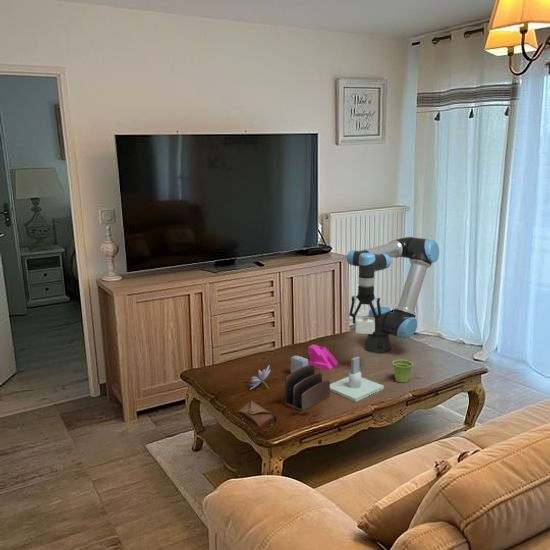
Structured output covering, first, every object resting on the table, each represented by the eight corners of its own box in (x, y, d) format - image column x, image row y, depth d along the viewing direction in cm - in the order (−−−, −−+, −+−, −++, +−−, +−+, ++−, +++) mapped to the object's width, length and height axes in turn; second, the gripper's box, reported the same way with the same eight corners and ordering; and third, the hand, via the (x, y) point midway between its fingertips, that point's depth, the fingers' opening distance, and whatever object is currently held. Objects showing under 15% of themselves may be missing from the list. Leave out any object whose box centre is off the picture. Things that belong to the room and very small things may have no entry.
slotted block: (357, 327, 281) (357, 315, 279) (373, 328, 279) (374, 316, 278) (355, 333, 273) (356, 320, 272) (372, 334, 272) (373, 321, 270)
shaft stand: (353, 377, 273) (354, 347, 269) (383, 388, 260) (385, 358, 256) (325, 389, 260) (325, 358, 256) (355, 402, 247) (356, 369, 243)
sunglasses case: (235, 411, 239) (241, 396, 239) (247, 414, 243) (253, 400, 244) (260, 427, 225) (267, 412, 226) (272, 431, 229) (279, 416, 230)
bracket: (308, 366, 287) (308, 347, 284) (316, 359, 295) (317, 341, 293) (329, 370, 281) (330, 351, 279) (338, 364, 290) (338, 345, 287)
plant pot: (398, 374, 276) (399, 358, 274) (415, 380, 269) (416, 363, 267) (387, 380, 269) (388, 363, 267) (404, 386, 263) (405, 368, 261)
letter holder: (284, 405, 245) (284, 374, 242) (312, 390, 259) (313, 361, 256) (302, 412, 238) (302, 380, 235) (330, 396, 253) (330, 367, 249)
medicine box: (308, 375, 275) (308, 359, 273) (302, 378, 272) (302, 361, 270) (296, 371, 280) (296, 355, 278) (290, 374, 277) (290, 357, 275)
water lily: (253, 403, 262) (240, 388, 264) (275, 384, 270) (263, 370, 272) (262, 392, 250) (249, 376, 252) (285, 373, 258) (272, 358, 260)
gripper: (343, 286, 270) (342, 331, 275) (388, 288, 265) (386, 334, 270) (345, 282, 277) (344, 326, 282) (388, 284, 272) (386, 329, 277)
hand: (364, 330), depth 276 cm, fingers closed on slotted block, 8 cm apart
